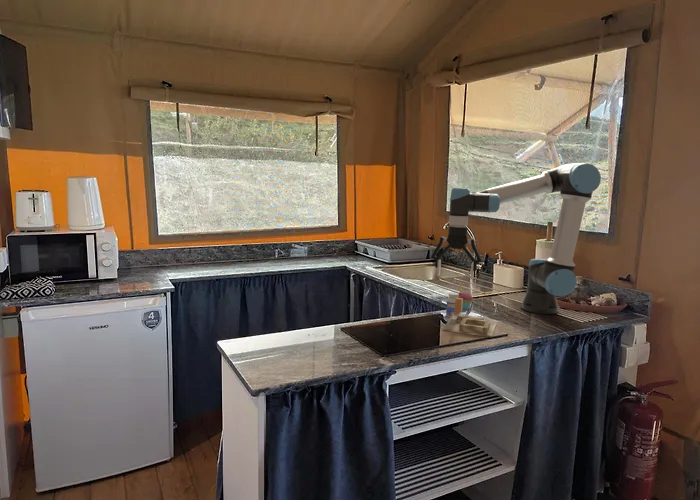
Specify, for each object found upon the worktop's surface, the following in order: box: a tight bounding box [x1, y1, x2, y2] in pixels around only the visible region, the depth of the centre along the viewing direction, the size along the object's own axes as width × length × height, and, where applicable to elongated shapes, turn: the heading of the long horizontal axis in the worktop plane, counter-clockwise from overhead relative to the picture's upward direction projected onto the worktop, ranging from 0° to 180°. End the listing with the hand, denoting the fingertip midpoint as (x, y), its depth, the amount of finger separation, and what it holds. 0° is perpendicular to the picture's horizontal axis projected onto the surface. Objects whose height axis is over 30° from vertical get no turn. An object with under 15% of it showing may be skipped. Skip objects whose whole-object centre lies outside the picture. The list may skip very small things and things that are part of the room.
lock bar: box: [449, 298, 463, 324], centre depth 187 cm, size 2×14×6 cm, turn 159°
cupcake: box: [457, 282, 474, 310], centre depth 214 cm, size 9×8×12 cm
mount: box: [442, 314, 497, 338], centre depth 186 cm, size 18×16×3 cm
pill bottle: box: [445, 292, 459, 318], centre depth 201 cm, size 5×5×10 cm
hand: (454, 277), depth 199 cm, fingers open, 13 cm apart
